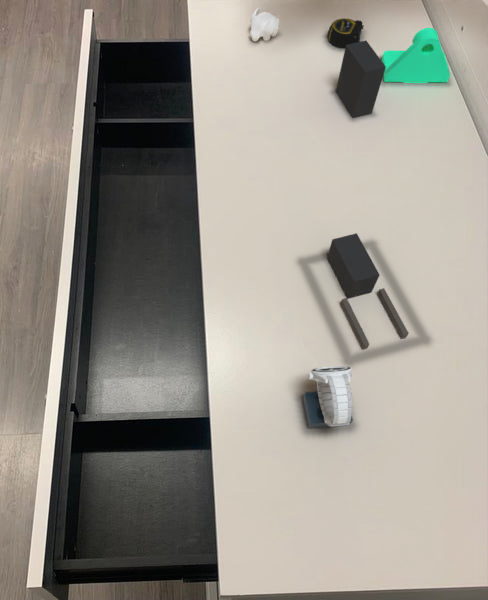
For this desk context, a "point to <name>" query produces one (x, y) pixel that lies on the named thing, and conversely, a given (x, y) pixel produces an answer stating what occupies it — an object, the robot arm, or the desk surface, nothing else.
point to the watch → (329, 398)
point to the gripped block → (359, 79)
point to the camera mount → (417, 61)
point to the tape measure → (344, 32)
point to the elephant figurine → (263, 25)
